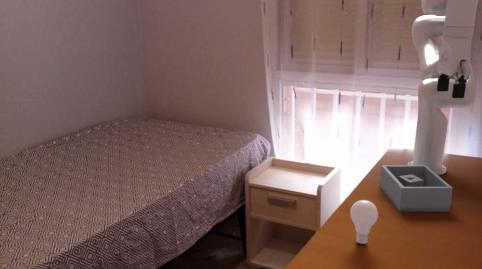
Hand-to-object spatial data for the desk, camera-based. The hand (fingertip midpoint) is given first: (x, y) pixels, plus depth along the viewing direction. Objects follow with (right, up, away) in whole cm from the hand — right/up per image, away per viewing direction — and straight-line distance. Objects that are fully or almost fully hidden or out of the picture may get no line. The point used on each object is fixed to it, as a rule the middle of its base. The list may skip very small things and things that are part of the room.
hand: (449, 94), depth 130 cm
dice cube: (-10, -29, +5) cm, 31 cm away
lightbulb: (-31, -38, -21) cm, 53 cm away
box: (-9, -30, +5) cm, 32 cm away
